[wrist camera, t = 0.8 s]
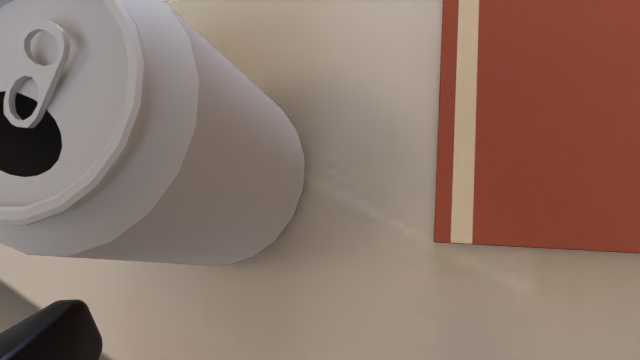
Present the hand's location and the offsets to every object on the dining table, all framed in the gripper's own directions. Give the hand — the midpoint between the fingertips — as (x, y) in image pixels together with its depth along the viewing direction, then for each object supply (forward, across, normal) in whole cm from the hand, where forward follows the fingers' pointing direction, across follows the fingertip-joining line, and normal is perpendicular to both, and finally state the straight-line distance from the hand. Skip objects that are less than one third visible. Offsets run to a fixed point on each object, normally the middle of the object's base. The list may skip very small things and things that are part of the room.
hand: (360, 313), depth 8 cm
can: (+14, +8, +5) cm, 17 cm away
